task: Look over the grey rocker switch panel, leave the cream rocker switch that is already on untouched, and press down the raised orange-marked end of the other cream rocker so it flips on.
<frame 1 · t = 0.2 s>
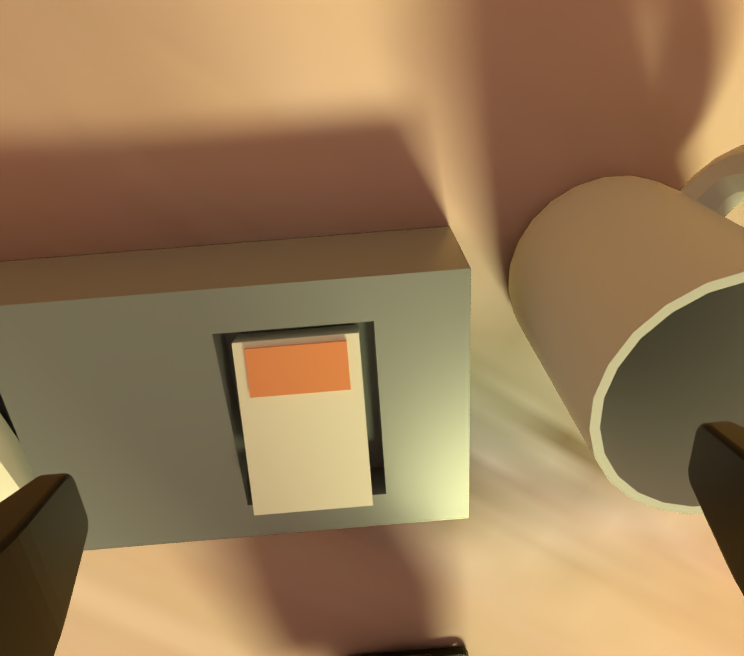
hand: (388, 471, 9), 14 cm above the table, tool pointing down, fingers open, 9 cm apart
rocker a: (305, 421, 21), point 4 cm above the table, hinge at 14.0°
cup: (624, 236, 23), on the table
grey rocker switch panel: (156, 372, 24), on the table
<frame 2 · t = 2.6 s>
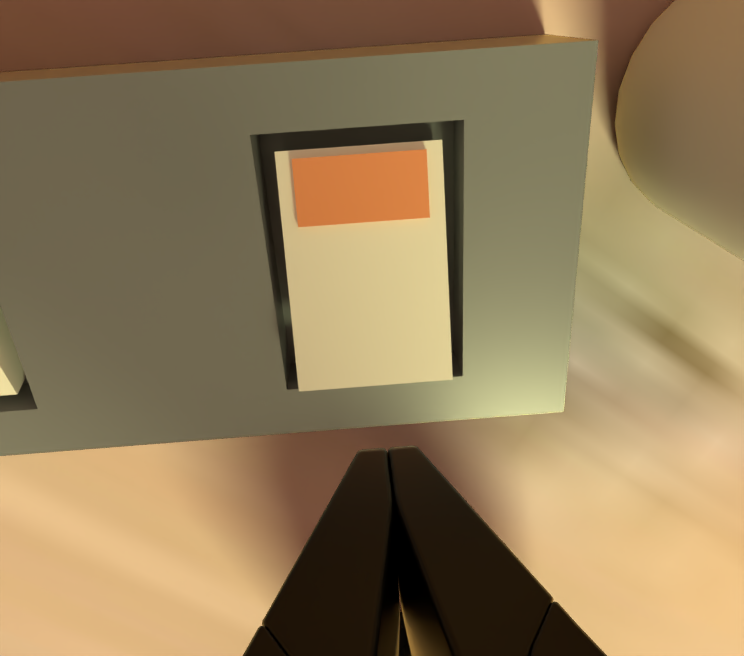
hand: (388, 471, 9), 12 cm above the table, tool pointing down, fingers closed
rocker a: (367, 268, 16), point 4 cm above the table, hinge at 14.0°
grey rocker switch panel: (170, 235, 20), on the table
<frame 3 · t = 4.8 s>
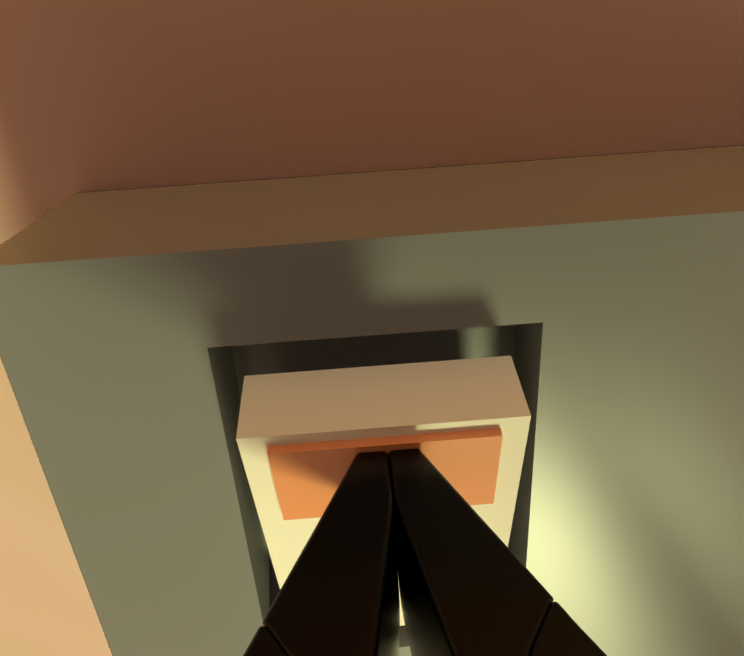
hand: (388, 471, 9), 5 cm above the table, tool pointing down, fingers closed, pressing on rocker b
rocker b: (387, 517, 11), point 4 cm above the table, hinge at -13.9°, touching gripper
grey rocker switch panel: (633, 370, 15), on the table
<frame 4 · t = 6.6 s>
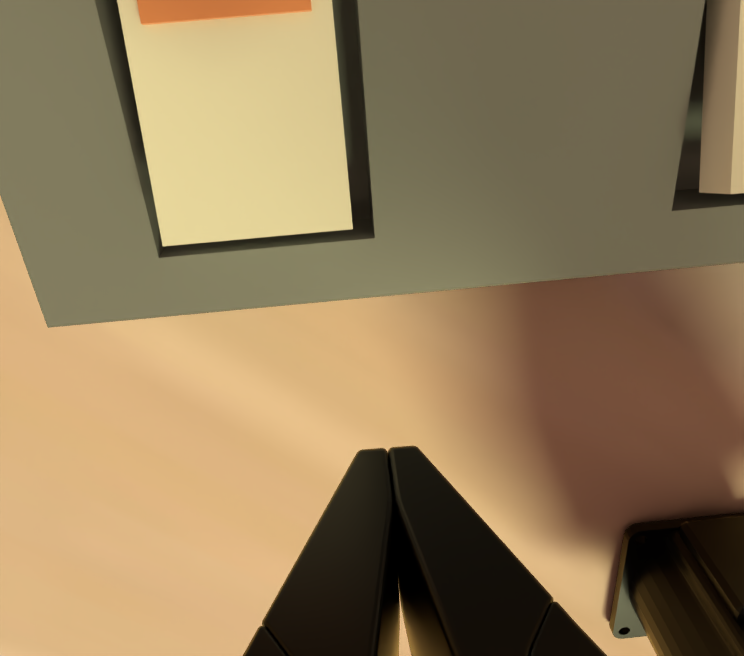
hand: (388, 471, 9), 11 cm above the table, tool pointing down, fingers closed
rocker b: (241, 87, 13), point 4 cm above the table, hinge at 10.5°
grey rocker switch panel: (487, 48, 17), on the table
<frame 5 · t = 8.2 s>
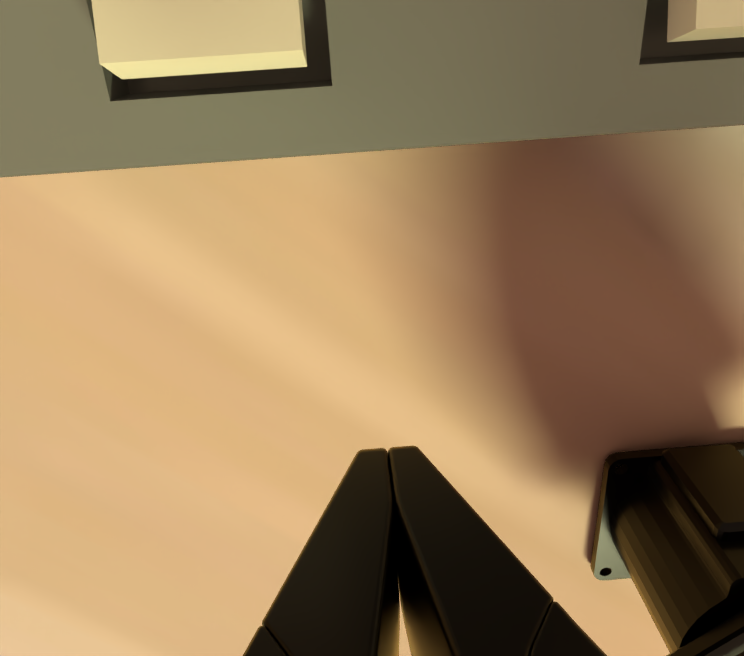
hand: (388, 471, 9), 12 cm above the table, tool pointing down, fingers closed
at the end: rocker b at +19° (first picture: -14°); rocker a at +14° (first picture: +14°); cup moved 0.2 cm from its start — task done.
